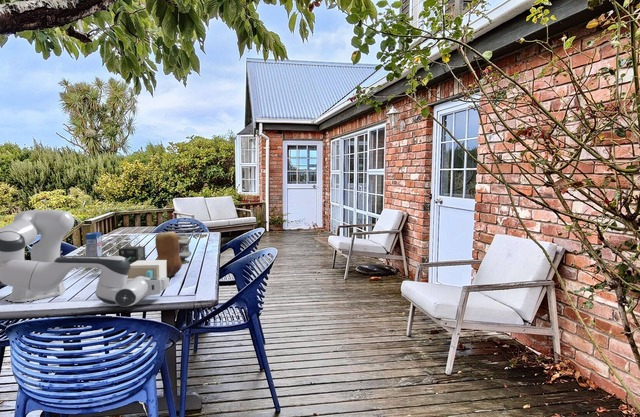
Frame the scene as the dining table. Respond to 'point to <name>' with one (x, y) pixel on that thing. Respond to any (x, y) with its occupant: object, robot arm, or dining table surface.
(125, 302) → the robot arm
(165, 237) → the butternut squash
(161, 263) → the carton
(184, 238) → the apothecary jar
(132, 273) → the flap
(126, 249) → the tampon box
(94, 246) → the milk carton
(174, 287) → the dining table surface
